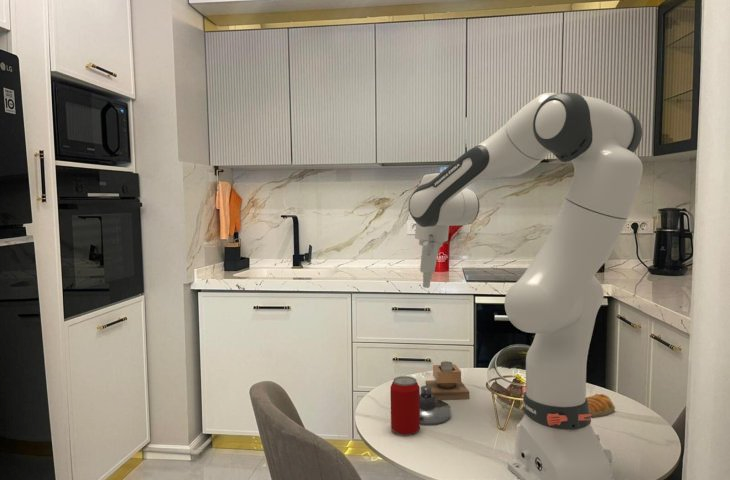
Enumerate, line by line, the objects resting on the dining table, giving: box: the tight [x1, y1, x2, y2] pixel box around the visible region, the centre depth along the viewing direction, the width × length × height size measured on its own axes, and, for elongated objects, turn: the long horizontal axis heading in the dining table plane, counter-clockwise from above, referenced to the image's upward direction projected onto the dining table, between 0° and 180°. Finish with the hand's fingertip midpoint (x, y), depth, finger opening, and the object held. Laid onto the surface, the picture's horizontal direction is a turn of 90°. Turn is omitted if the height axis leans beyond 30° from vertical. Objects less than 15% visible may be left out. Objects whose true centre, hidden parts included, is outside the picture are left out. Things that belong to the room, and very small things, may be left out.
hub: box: [420, 385, 452, 426], centre depth 125 cm, size 12×12×7 cm
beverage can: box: [389, 375, 421, 436], centre depth 116 cm, size 7×7×12 cm
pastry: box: [586, 393, 616, 418], centre depth 125 cm, size 9×7×4 cm
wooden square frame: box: [432, 363, 462, 383], centre depth 139 cm, size 6×6×3 cm
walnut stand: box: [425, 360, 470, 401], centre depth 139 cm, size 10×10×8 cm
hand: (427, 283), depth 136 cm, fingers open, 8 cm apart
